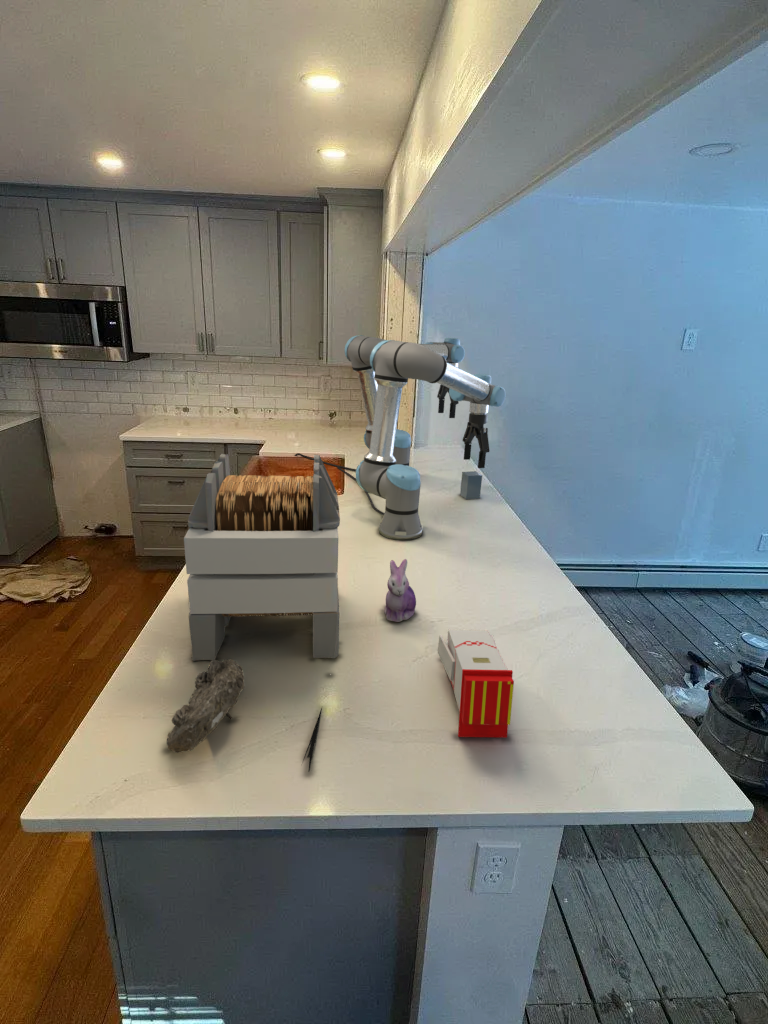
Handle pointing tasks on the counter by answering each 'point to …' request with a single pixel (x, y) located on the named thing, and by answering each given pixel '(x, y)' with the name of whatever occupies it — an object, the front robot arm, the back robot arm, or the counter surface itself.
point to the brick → (471, 485)
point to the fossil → (206, 705)
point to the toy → (478, 682)
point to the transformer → (263, 554)
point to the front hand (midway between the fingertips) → (473, 463)
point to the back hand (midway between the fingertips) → (446, 415)
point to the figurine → (399, 594)
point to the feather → (313, 740)
